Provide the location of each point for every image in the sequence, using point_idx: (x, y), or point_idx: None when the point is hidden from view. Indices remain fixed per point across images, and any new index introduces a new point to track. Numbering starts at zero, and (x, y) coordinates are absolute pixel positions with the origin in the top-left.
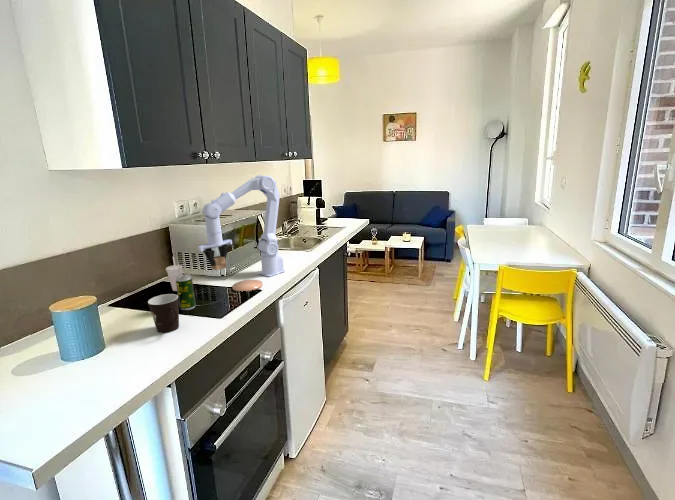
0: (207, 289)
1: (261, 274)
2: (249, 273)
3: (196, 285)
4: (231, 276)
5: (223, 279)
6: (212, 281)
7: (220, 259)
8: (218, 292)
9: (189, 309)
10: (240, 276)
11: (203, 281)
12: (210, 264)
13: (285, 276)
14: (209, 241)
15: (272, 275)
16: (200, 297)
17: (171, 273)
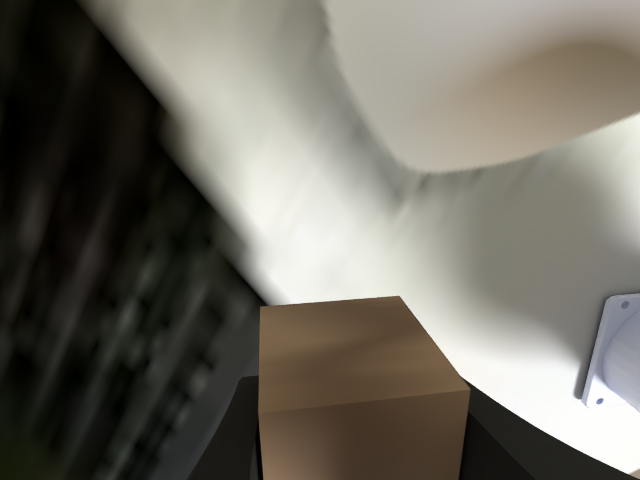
0: (174, 306)
1: (598, 334)
2: (594, 227)
3: (144, 132)
4: (477, 171)
5: (390, 187)
6: (302, 154)
7: None
8: (205, 414)
9: None
10: (510, 234)
11: (245, 75)
12: (237, 388)
13: (625, 451)
14: None
15: (607, 402)
16: (64, 414)
17: None
